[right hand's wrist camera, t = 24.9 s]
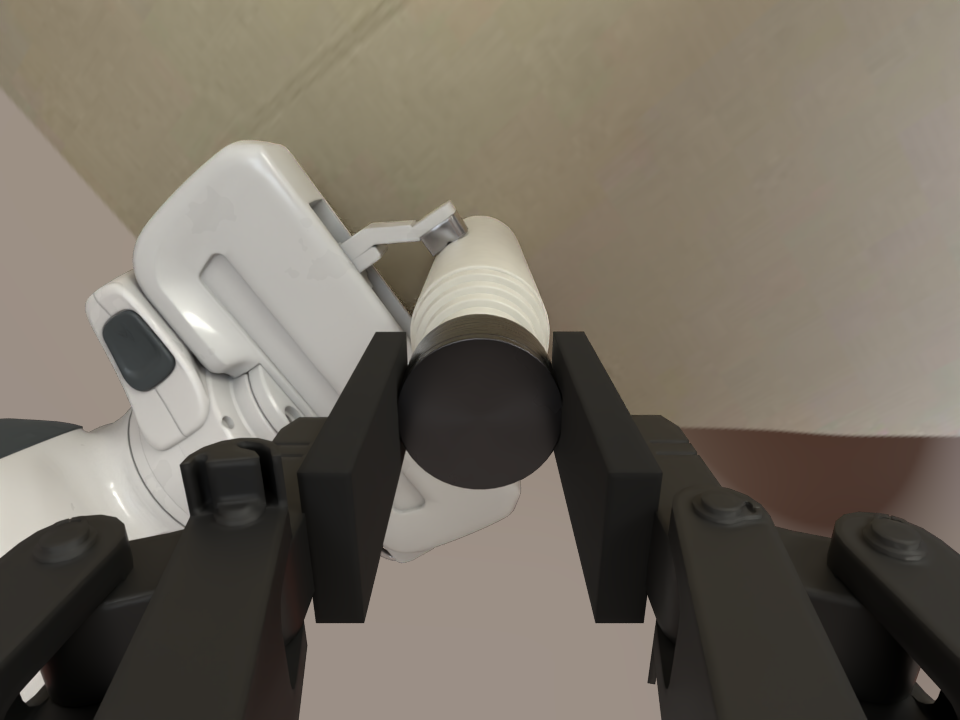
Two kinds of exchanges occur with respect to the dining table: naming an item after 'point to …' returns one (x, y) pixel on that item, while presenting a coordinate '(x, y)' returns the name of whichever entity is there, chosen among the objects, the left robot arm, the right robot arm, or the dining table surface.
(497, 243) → the bottle
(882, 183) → the dining table surface
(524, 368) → the cap
